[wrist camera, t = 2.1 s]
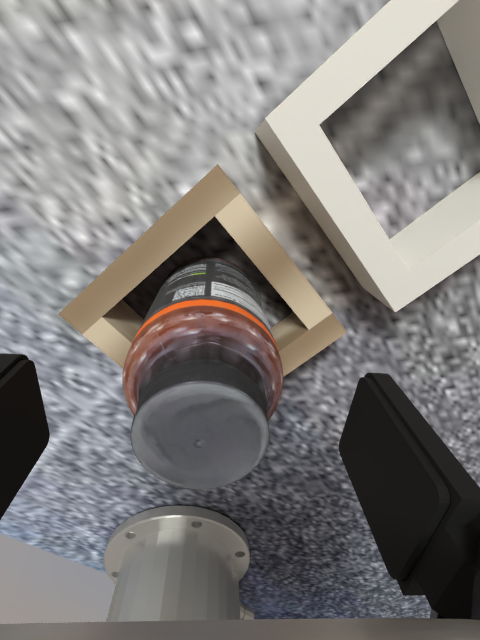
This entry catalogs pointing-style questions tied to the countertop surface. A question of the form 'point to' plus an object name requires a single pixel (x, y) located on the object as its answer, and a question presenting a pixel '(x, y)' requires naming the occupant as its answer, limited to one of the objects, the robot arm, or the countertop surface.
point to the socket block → (337, 185)
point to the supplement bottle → (203, 377)
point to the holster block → (171, 233)
